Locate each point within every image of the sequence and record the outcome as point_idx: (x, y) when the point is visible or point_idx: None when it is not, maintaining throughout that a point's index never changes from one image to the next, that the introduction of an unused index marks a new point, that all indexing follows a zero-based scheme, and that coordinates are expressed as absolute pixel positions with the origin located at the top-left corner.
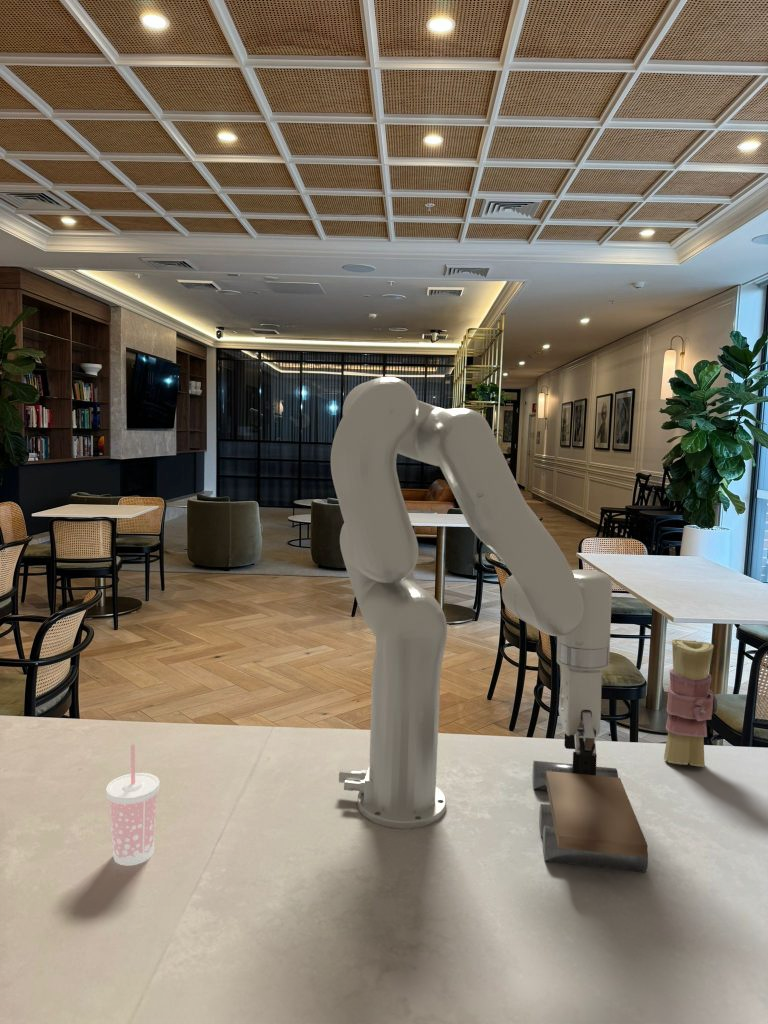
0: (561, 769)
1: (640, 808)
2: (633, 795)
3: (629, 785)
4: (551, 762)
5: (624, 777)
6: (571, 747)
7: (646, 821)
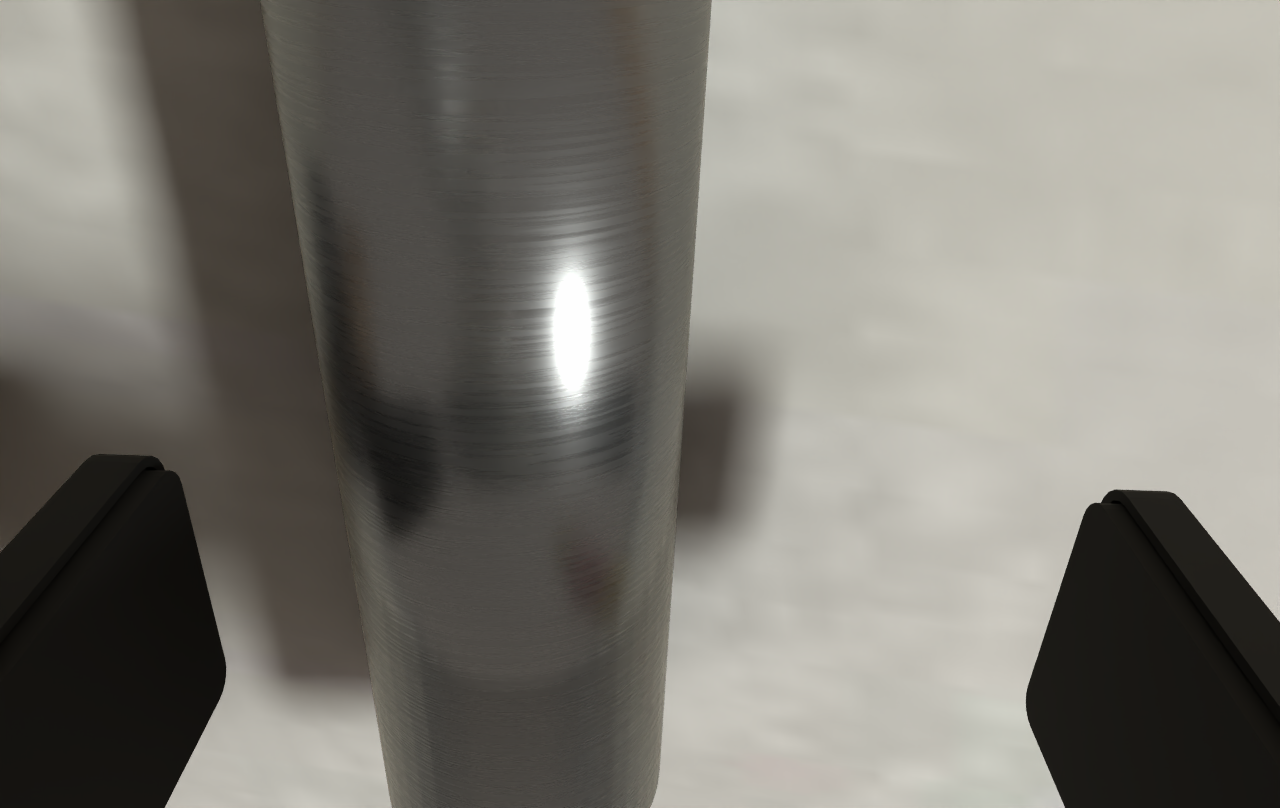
0: (371, 330)
1: (347, 776)
2: None
3: (713, 778)
4: (528, 205)
5: (851, 772)
6: (1076, 576)
7: None
